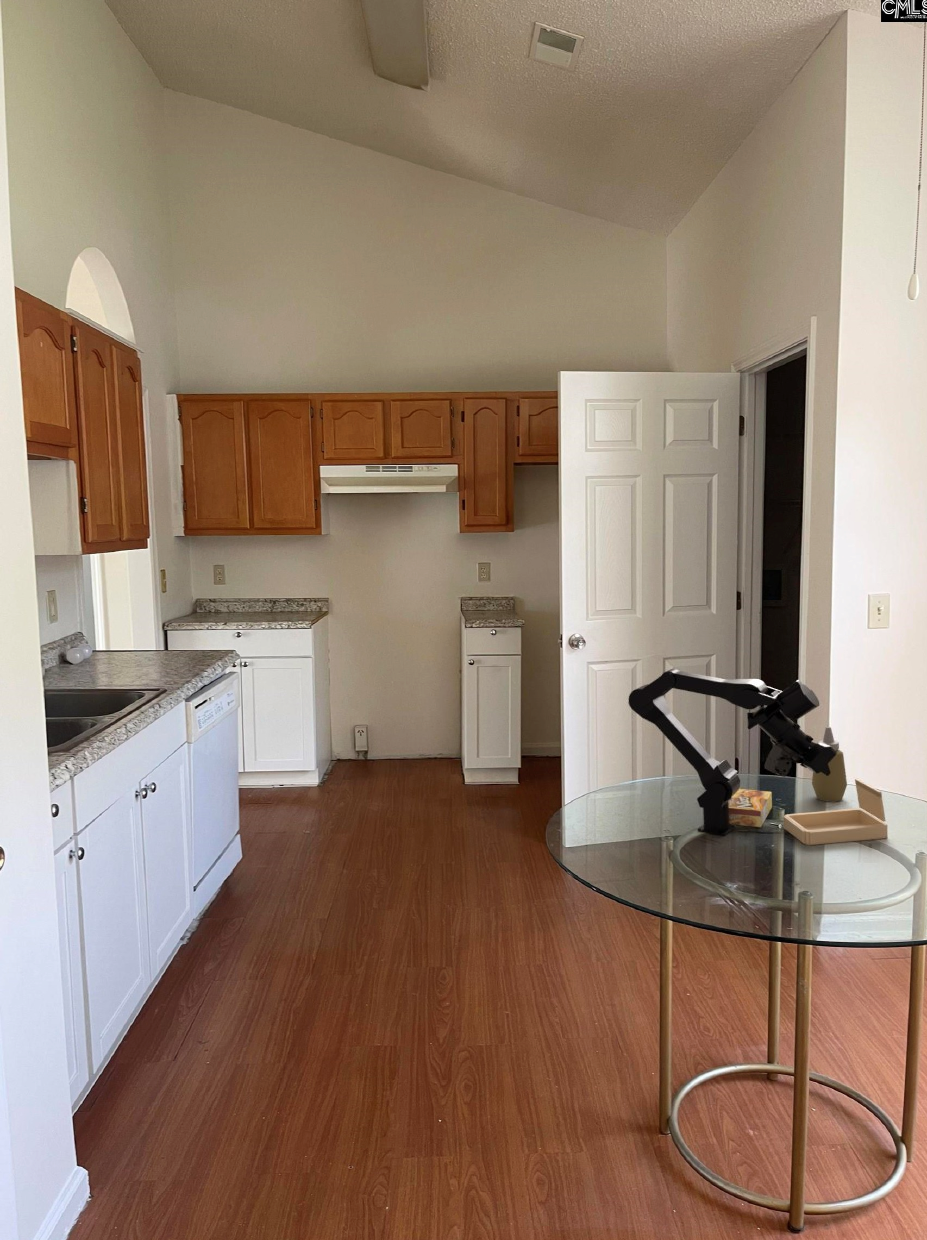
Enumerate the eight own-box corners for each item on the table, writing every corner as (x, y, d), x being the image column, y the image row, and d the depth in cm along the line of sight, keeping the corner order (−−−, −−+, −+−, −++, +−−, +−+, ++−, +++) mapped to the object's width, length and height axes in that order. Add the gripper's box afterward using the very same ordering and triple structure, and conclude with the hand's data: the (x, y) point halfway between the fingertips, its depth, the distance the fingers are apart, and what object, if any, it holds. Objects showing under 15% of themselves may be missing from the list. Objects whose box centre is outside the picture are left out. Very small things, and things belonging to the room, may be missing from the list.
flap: (883, 821, 189) (878, 792, 188) (859, 807, 199) (854, 779, 198) (885, 821, 189) (881, 791, 188) (861, 806, 199) (857, 778, 198)
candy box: (735, 803, 217) (722, 824, 203) (734, 787, 216) (721, 807, 203) (772, 807, 212) (761, 828, 199) (772, 790, 212) (760, 810, 199)
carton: (805, 846, 187) (805, 832, 187) (781, 827, 199) (781, 814, 199) (888, 838, 188) (888, 825, 188) (859, 820, 200) (859, 807, 200)
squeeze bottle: (813, 803, 214) (812, 731, 212) (810, 793, 221) (809, 723, 219) (849, 804, 211) (848, 731, 209) (845, 794, 219) (844, 723, 217)
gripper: (737, 745, 200) (784, 789, 202) (775, 766, 181) (825, 814, 183) (770, 709, 200) (816, 753, 202) (811, 727, 181) (861, 775, 183)
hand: (828, 774), depth 193 cm, fingers closed
